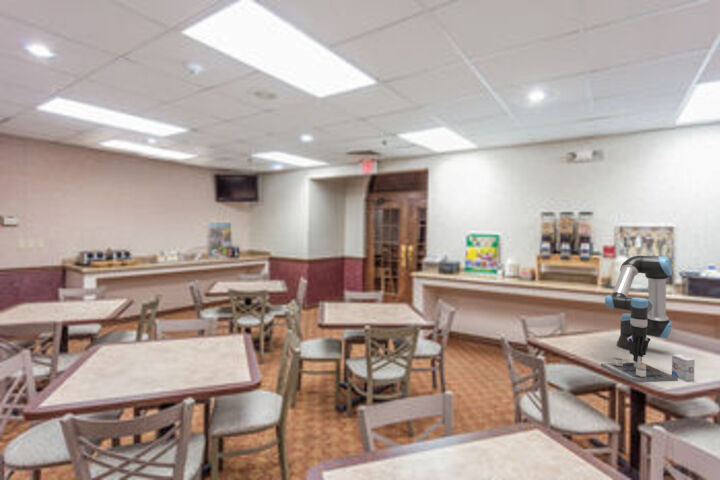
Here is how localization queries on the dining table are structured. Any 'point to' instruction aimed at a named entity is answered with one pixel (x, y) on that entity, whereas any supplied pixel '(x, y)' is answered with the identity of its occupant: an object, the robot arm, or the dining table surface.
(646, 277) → the robot arm
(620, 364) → the breaker
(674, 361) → the ink box
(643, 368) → the breaker mid
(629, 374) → the panel
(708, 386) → the dining table surface
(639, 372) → the breaker
